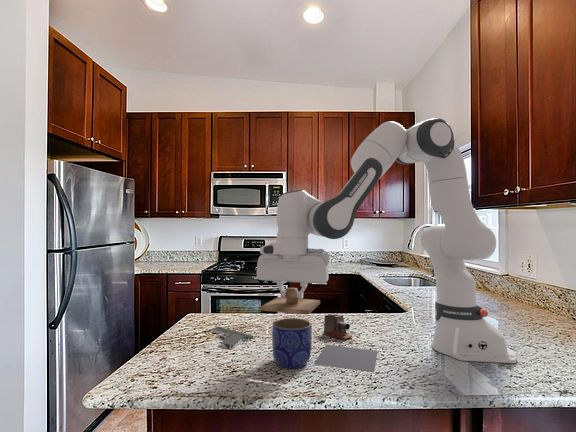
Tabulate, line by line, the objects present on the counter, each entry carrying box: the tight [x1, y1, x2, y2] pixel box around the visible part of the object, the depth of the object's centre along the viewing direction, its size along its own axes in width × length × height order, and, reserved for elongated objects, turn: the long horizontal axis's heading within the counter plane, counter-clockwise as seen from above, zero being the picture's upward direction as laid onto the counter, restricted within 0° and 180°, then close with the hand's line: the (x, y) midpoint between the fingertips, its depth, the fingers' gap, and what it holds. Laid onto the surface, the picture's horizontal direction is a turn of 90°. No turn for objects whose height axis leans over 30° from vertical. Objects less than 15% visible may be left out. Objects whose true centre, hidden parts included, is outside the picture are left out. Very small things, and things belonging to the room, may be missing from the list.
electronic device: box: [323, 314, 353, 341], centre depth 115 cm, size 4×10×8 cm, turn 43°
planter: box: [271, 317, 313, 370], centre depth 92 cm, size 11×11×11 cm
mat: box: [313, 344, 379, 373], centre depth 96 cm, size 16×16×1 cm
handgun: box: [211, 326, 254, 350], centre depth 113 cm, size 2×19×12 cm
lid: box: [260, 287, 321, 316], centre depth 93 cm, size 13×13×5 cm
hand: (291, 297), depth 93 cm, fingers closed on lid, 3 cm apart
